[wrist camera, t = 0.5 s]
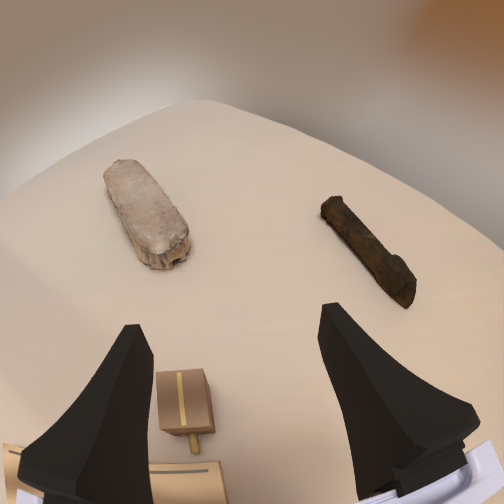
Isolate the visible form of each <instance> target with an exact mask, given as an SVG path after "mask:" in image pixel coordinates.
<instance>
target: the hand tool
mask: <svg viewBox="0 0 504 504" xmlns="http://www.w3.org/2000/svg"><path fill="white" fill-rule="evenodd" d="M320 214H321V217H325V218H326V219H327V223H331V224H332V225H333V226H334V227H335V228H336V229H337V230H338V231H339V232H340V233H341V234H342V236H343V237H344V238H345V239H346V240H347V241H348V243H349V245H350V246H351V247H352V248H353V249H354V250H355V251H356V253H357V254H358V255H359V256H360V257H361V258H362V259H363V261H364V262H365V263H366V264H367V265H368V267H369V268H370V269H371V270H372V271H373V273H374V275H375V277H376V282H377V283H378V285H379V286H380V287H381V288H382V289H383V290H384V291H385V292H386V293H387V294H388V295H389V296H390V297H392V298H393V299H394V300H395V301H396V302H398V303H399V304H400V305H402V306H403V307H404V308H408V307H409V306H410V305H411V304H412V303H413V300H414V297H415V294H416V281H417V279H416V278H415V276H414V275H413V273H412V272H411V271H410V270H409V268H408V267H407V265H406V263H405V262H404V261H403V259H402V258H401V257H399V256H398V255H391V254H390V253H389V252H388V251H387V250H386V249H385V248H384V246H383V245H382V244H381V243H380V241H379V240H378V239H377V238H376V237H375V236H374V235H373V234H372V232H371V231H370V230H369V229H368V228H367V227H366V226H365V225H364V224H363V223H362V222H361V220H360V219H359V218H358V217H357V216H356V215H355V214H354V213H353V212H352V211H351V210H350V209H349V208H348V206H347V205H346V204H345V203H344V202H343V199H342V196H331V197H330V198H329V199H328V200H326V201H325V202H324V203H322V205H321V213H320Z"/></svg>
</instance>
